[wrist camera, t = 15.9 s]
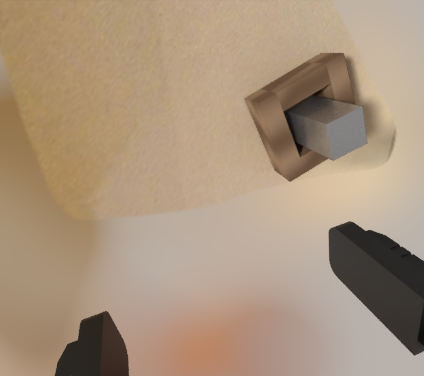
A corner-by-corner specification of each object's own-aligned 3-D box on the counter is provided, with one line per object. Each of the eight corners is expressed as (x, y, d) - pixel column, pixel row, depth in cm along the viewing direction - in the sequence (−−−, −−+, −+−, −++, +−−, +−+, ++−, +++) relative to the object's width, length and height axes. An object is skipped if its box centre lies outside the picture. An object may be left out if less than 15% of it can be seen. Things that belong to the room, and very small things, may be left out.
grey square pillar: (277, 107, 41) (326, 124, 31) (305, 94, 41) (362, 106, 32) (284, 136, 43) (333, 160, 33) (311, 123, 43) (367, 143, 34)
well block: (244, 98, 39) (258, 103, 35) (320, 53, 39) (343, 53, 35) (274, 170, 45) (290, 181, 41) (341, 130, 45) (362, 137, 41)
